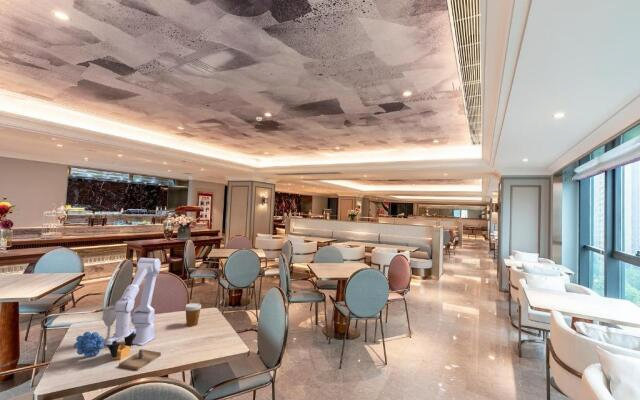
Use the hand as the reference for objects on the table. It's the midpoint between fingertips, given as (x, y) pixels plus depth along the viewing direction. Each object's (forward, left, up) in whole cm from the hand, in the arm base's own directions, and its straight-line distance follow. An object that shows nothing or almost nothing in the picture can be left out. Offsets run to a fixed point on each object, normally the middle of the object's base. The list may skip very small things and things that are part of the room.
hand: (120, 353), depth 143 cm
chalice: (-10, -18, -2) cm, 21 cm away
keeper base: (+1, +12, -1) cm, 12 cm away
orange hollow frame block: (0, 0, -1) cm, 1 cm away
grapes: (+5, -13, -2) cm, 14 cm away
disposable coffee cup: (-44, +8, -2) cm, 45 cm away
